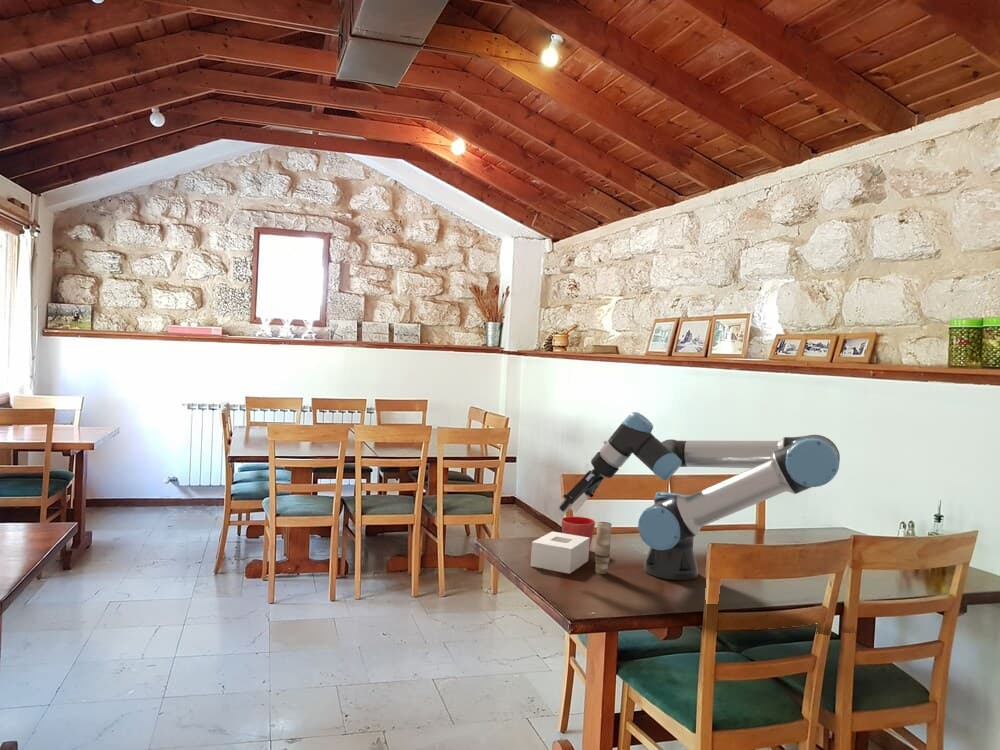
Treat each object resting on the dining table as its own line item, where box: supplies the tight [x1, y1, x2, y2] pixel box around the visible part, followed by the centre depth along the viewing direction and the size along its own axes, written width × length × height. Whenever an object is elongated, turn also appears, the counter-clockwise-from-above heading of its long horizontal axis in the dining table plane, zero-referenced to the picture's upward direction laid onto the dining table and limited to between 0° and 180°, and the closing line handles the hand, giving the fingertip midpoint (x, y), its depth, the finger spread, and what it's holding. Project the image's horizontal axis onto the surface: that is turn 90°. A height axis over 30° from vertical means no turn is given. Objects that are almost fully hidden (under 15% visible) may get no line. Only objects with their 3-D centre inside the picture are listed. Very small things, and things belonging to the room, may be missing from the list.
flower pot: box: [560, 516, 596, 550], centre depth 235 cm, size 11×11×10 cm
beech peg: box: [594, 521, 613, 575], centre depth 213 cm, size 4×4×14 cm
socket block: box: [529, 531, 590, 574], centre depth 219 cm, size 12×16×7 cm
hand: (563, 513), depth 216 cm, fingers open, 13 cm apart
